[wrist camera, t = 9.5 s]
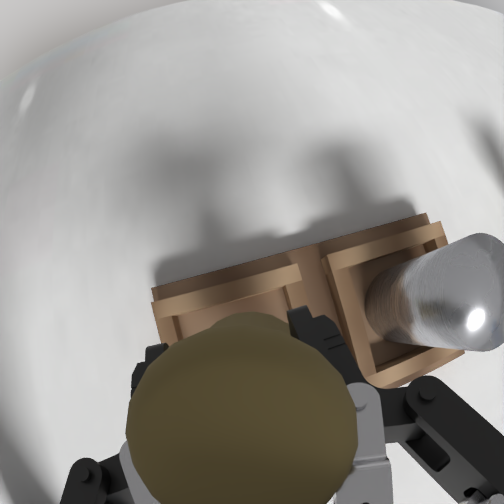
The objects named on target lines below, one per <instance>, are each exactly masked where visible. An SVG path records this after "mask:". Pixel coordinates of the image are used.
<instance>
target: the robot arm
mask: <svg viewBox="0 0 504 504" xmlns="http://www.w3.org/2000/svg"><path fill="white" fill-rule="evenodd" d="M287 318H288V324H289V329H290V335H291V336H292V337H294V338H296V339H298V340H300V341H302V342H304V343H306V344H308V345H309V346H311V347H313V348H315V349H317V350H318V351H319V352H320V353H321V354H322V355H323V356H324V357H325V358H326V359H327V360H328V361H329V362H330V363H331V365H332V366H333V367H334V368H335V369H336V370H337V371H338V372H339V373H340V374H341V375H342V377H343V379H344V382H345V384H346V386H347V388H348V390H349V393H350V395H351V397H352V399H353V401H354V404H355V408H356V414H357V431H358V448H357V451H356V454H355V457H354V460H353V464H352V467H351V470H350V472H349V474H348V476H347V478H346V479H345V480H344V482H343V483H342V484H341V486H340V487H339V488H338V489H337V491H336V493H335V494H334V495H333V504H393V488H392V472H391V464H390V461H389V459H388V458H387V455H386V447H385V444H386V443H395V442H398V443H399V444H400V445H401V446H402V447H403V448H404V449H405V450H406V451H407V452H408V453H409V454H410V455H411V456H412V457H413V458H414V459H415V460H416V461H417V462H418V463H419V465H420V466H421V467H422V468H423V469H424V470H425V471H426V472H427V473H428V474H429V475H430V476H431V477H432V478H433V479H434V480H435V481H436V482H437V483H438V484H439V485H440V486H441V487H442V488H443V489H444V490H445V491H446V492H447V493H448V494H449V495H450V496H451V497H452V498H453V499H454V500H455V501H456V502H457V503H458V504H504V436H503V435H502V434H501V433H500V432H499V431H498V430H497V429H495V428H494V427H493V426H492V425H491V424H490V423H489V422H488V421H487V420H485V419H484V418H483V417H482V416H481V415H480V414H479V413H478V412H476V411H475V410H474V409H473V408H472V407H471V406H470V405H469V404H467V403H466V402H465V401H464V400H463V399H462V398H461V397H459V396H458V395H457V394H456V393H455V392H454V391H453V390H451V389H450V388H449V387H448V386H447V385H446V384H445V383H443V382H442V381H441V380H440V379H438V378H436V377H433V376H421V377H418V378H416V379H414V380H413V381H412V382H411V383H410V384H409V386H408V387H400V388H391V389H383V388H378V387H375V386H373V385H371V384H370V383H369V382H367V380H366V379H365V378H364V376H363V375H362V373H361V371H360V369H359V367H358V365H357V363H356V361H355V359H354V357H353V356H352V354H351V352H350V350H349V348H348V346H347V345H346V342H345V340H344V339H343V337H342V336H341V333H340V331H339V329H338V327H337V325H336V324H335V322H334V321H332V320H331V319H330V318H328V317H327V316H326V315H320V316H317V317H314V318H313V317H312V315H311V313H310V311H309V308H308V307H307V305H304V306H300V307H297V308H294V309H291V310H287ZM168 348H169V345H168V344H167V343H161V344H157V345H153V346H148V347H147V348H146V353H145V362H141V363H137V365H136V368H135V370H134V372H133V374H132V381H131V388H132V390H131V398H132V396H133V393H134V392H135V390H136V388H137V386H138V384H139V382H140V380H141V378H142V377H143V375H144V373H145V371H146V369H147V367H148V366H149V365H150V364H151V363H152V362H153V361H154V360H155V359H157V358H158V357H159V356H160V355H161V354H162V353H163V352H164V351H166V350H167V349H168ZM60 504H161V503H159V502H158V501H157V500H156V499H155V498H154V497H153V496H152V495H151V493H150V492H149V490H148V489H147V487H146V486H145V484H144V483H143V481H142V479H141V478H140V476H139V475H138V473H137V471H136V469H135V467H134V466H133V463H132V459H131V455H130V451H129V447H128V443H127V441H126V442H125V443H124V444H123V445H122V447H121V449H120V453H118V454H117V455H115V456H112V457H110V458H108V459H105V460H103V461H101V462H96V461H95V460H93V459H91V458H82V459H79V460H77V461H76V462H75V463H74V464H73V465H72V467H71V469H70V472H69V475H68V478H67V482H66V485H65V488H64V491H63V494H62V498H61V501H60Z"/></svg>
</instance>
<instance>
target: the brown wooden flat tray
mask: <svg viewBox="0 0 504 504" xmlns="http://www.w3.org/2000/svg"><path fill="white" fill-rule="evenodd" d="M446 245H448V242H447V239H446V236H445V233H444V230H443V227H442V224H441V221H439V222H435V223H432V224H430V222H429V219H428V216H427V214H426V213H423V214H420V215H416V216H413V217H409V218H405V219H402V220H398V221H395V222H391V223H388V224H384V225H381V226H377V227H373V228H370V229H366V230H363V231H359V232H356V233H352V234H348V235H345V236H341V237H338V238H334V239H330V240H327V241H323V242H320V243H316V244H312V245H309V246H305V247H302V248H298V249H294V250H291V251H287V252H283V253H280V254H276V255H272V256H269V257H265V258H261V259H258V260H254V261H250V262H247V263H243V264H239V265H236V266H232V267H228V268H225V269H221V270H217V271H213V272H210V273H206V274H202V275H199V276H195V277H191V278H187V279H184V280H180V281H176V282H172V283H169V284H165V285H161V286H157V287H154V288H151V290H152V294H153V298H154V302H152V303H151V304H152V309H153V313H154V317H155V321H156V325H157V329H158V333H159V336H160V340H161V343H167V344H168V345H169V347H170V346H171V345H172V344H173V343H175V342H178V341H180V340H182V339H185V338H187V337H189V336H192V335H194V334H196V333H199V332H201V331H203V330H205V329H209V328H210V327H211V326H212V325H214V324H215V323H216V322H217V321H219V320H221V319H223V318H225V317H228V316H230V315H232V314H234V313H243V312H251V311H254V312H259V313H265V314H270V315H273V316H275V317H277V318H278V319H280V320H282V321H284V322H286V323H288V318H287V310H291V309H294V308H297V307H300V306H304V305H307V307H308V308H309V311H310V313H311V315H312V317H313V318H314V317H317V316H320V315H326V316H327V317H328V318H330V319H331V320H332V321H334V322H335V324H336V325H337V327H338V329H339V331H340V333H341V336H342V337H343V339H344V340H345V342H346V345H347V346H348V348H349V350H350V352H351V354H352V356H353V357H354V359H355V361H356V363H357V365H358V367H359V369H360V371H361V373H362V375H363V376H364V378H365V379H366V380H367V382H369V383H370V384H371V385H373V386H375V387H378V388H383V389H391V388H397V387H400V386H402V385H404V384H406V383H408V382H410V381H413V380H414V379H416V378H418V377H421V376H423V375H425V374H427V373H429V372H431V371H433V370H435V369H437V368H439V367H441V366H443V365H444V364H446V363H448V362H450V361H452V360H454V359H456V358H457V357H459V356H461V355H463V354H464V353H465V352H464V350H458V349H448V348H439V347H430V346H421V345H413V344H405V343H397V342H390V341H387V340H384V339H382V338H381V337H379V336H378V335H377V334H376V333H375V332H374V331H373V330H372V328H371V327H370V325H369V323H368V321H367V318H366V314H365V296H366V293H367V290H368V287H369V285H370V283H371V282H372V281H373V279H374V278H375V277H376V276H377V275H378V274H379V273H381V272H382V271H384V270H386V269H388V268H391V267H394V266H396V265H399V264H401V263H404V262H407V261H409V260H412V259H414V258H417V257H419V256H422V255H424V254H427V253H429V252H432V251H434V250H437V249H439V248H441V247H444V246H446Z"/></svg>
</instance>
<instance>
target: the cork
mask: <svg viewBox="0 0 504 504" xmlns="http://www.w3.org/2000/svg"><path fill="white" fill-rule="evenodd" d="M125 434H126V438H127V443H128V447H129V451H130V455H131V459H132V463H133V466H134V467H135V469H136V471H137V473H138V475H139V476H140V478H141V479H142V481H143V483H144V484H145V486H146V487H147V489H148V490H149V492H150V493H151V495H152V496H153V497H154V498H155V499H156V500H157V501H158V502H159V503H161V504H327V502H328V501H329V500H330V499H331V498H332V497H333V495H334V494H335V493H336V491H337V489H338V488H339V487H340V486H341V484H342V483H343V482H344V480H345V479H346V478H347V476H348V474H349V472H350V470H351V467H352V464H353V460H354V457H355V454H356V451H357V448H358V431H357V414H356V408H355V404H354V401H353V399H352V397H351V395H350V393H349V390H348V388H347V386H346V384H345V382H344V379H343V377H342V375H341V374H340V373H339V372H338V371H337V370H336V369H335V368H334V367H333V366H332V365H331V363H330V362H329V361H328V360H327V359H326V358H325V357H324V356H323V355H322V354H321V353H320V352H319V351H318V350H317V349H315V348H313V347H311V346H309V345H308V344H306V343H304V342H302V341H300V340H298V339H296V338H294V337H292V336H291V335H290V329H289V324H288V323H286V322H284V321H282V320H280V319H278V318H277V317H275V316H273V315H270V314H265V313H259V312H254V311H251V312H243V313H234V314H232V315H230V316H228V317H225V318H223V319H221V320H219V321H217V322H216V323H215V324H214V325H212V326H211V327H210V328H209V329H205V330H203V331H201V332H199V333H196V334H194V335H192V336H189V337H187V338H185V339H182V340H180V341H178V342H175V343H173V344H172V345H171V346H170V347H169V348H168V349H167V350H166V351H164V352H163V353H162V354H161V355H160V356H159V357H158V358H157V359H155V360H154V361H153V362H152V363H151V364H150V365H149V366H148V367H147V369H146V371H145V373H144V375H143V377H142V378H141V380H140V382H139V384H138V386H137V388H136V390H135V392H134V393H133V396H132V398H131V400H130V402H129V408H128V416H127V424H126V433H125Z"/></svg>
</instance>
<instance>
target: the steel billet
mask: <svg viewBox="0 0 504 504" xmlns="http://www.w3.org/2000/svg"><path fill="white" fill-rule="evenodd" d="M365 314H366V318H367V321H368V323H369V325H370V327H371V328H372V330H373V331H374V332H375V333H376V334H377V335H378V336H379V337H381V338H382V339H384V340H387V341H390V342H397V343H405V344H413V345H421V346H430V347H439V348H448V349H458V350H469V351H482V352H485V351H490V350H493V349H495V348H497V347H499V346H500V345H501V344H502V343H504V244H503V243H502V242H501V241H500V240H498V239H497V238H496V237H494V236H492V235H489V234H485V233H476V234H472V235H470V236H467V237H465V238H463V239H460V240H458V241H456V242H453V243H451V244H449V245H446V246H444V247H441V248H439V249H437V250H434V251H432V252H429V253H427V254H424V255H422V256H419V257H417V258H414V259H412V260H409V261H407V262H404V263H401V264H399V265H396V266H394V267H391V268H388V269H386V270H384V271H382V272H381V273H379V274H378V275H377V276H376V277H375V278H374V279H373V281H372V282H371V283H370V285H369V287H368V290H367V293H366V296H365Z"/></svg>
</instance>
